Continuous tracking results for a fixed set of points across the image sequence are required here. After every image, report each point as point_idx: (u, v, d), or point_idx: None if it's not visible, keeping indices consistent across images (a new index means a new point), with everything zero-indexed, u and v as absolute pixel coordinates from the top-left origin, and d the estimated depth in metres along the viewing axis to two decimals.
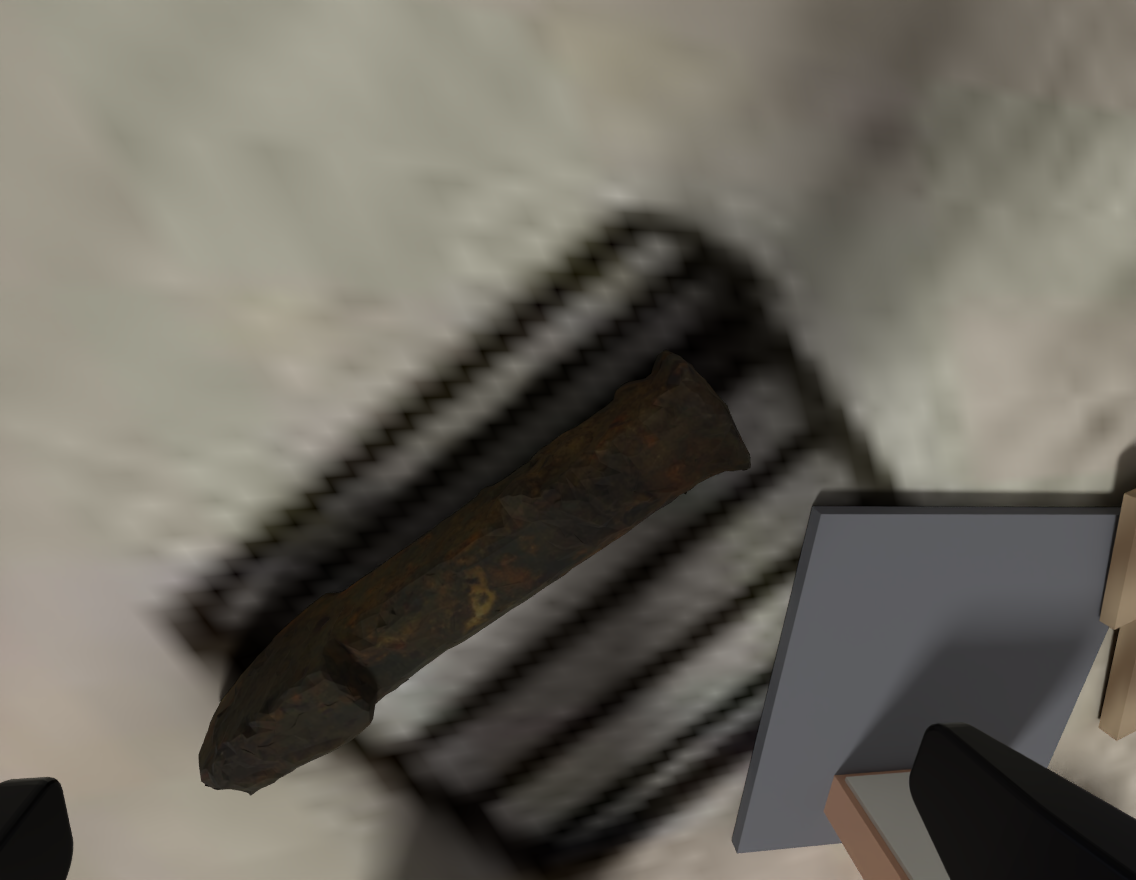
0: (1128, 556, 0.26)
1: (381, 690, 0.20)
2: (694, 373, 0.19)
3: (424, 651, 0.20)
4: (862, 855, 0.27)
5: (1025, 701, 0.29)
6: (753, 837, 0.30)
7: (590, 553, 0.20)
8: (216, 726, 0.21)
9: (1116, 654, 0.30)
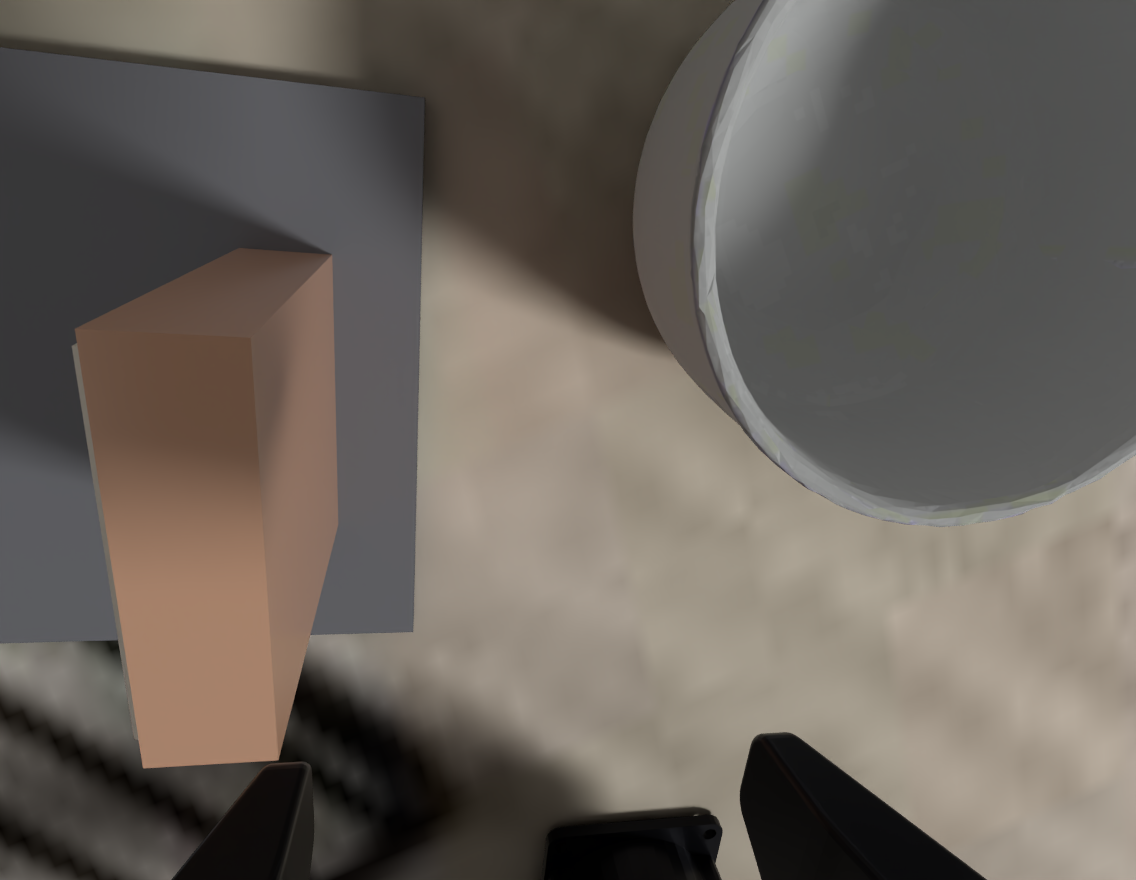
0: None
1: None
2: None
3: None
4: None
5: (68, 190, 0.15)
6: (382, 616, 0.20)
7: None
8: None
9: None
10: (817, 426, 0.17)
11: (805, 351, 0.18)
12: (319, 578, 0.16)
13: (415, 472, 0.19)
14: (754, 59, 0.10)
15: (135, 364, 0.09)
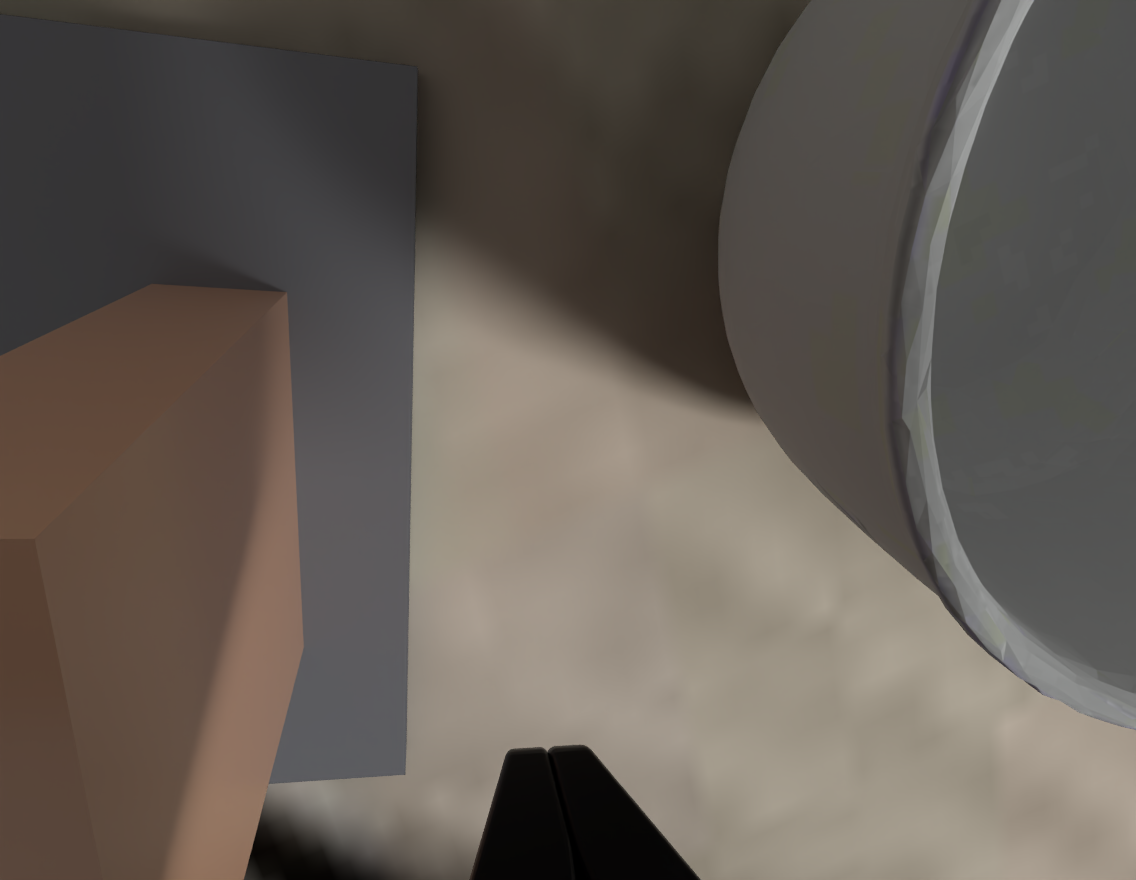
0: None
1: None
2: None
3: None
4: None
5: None
6: (365, 757, 0.15)
7: None
8: None
9: None
10: (972, 532, 0.12)
11: (934, 416, 0.14)
12: (266, 762, 0.11)
13: (407, 579, 0.14)
14: None
15: None
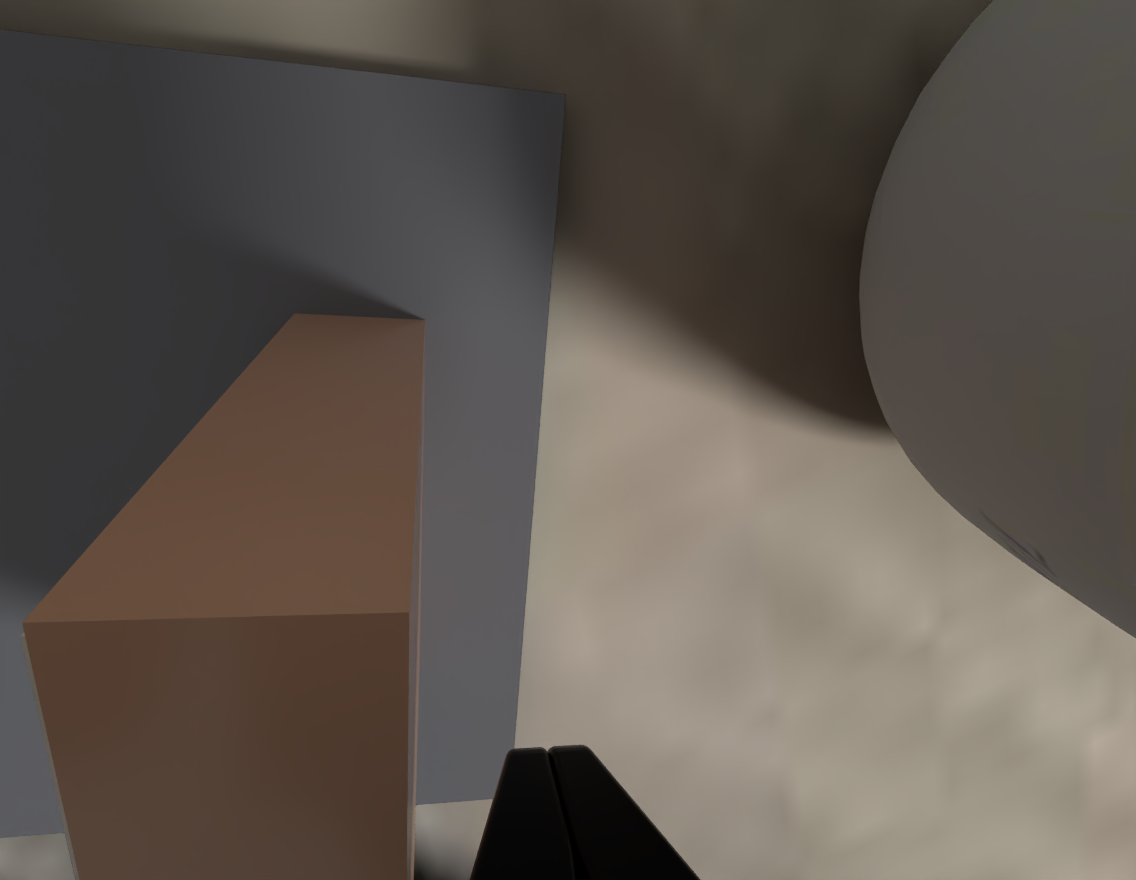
0: None
1: None
2: None
3: None
4: None
5: (46, 235, 0.10)
6: (472, 780, 0.15)
7: None
8: None
9: None
10: None
11: None
12: (415, 794, 0.11)
13: (524, 603, 0.14)
14: None
15: (159, 681, 0.04)
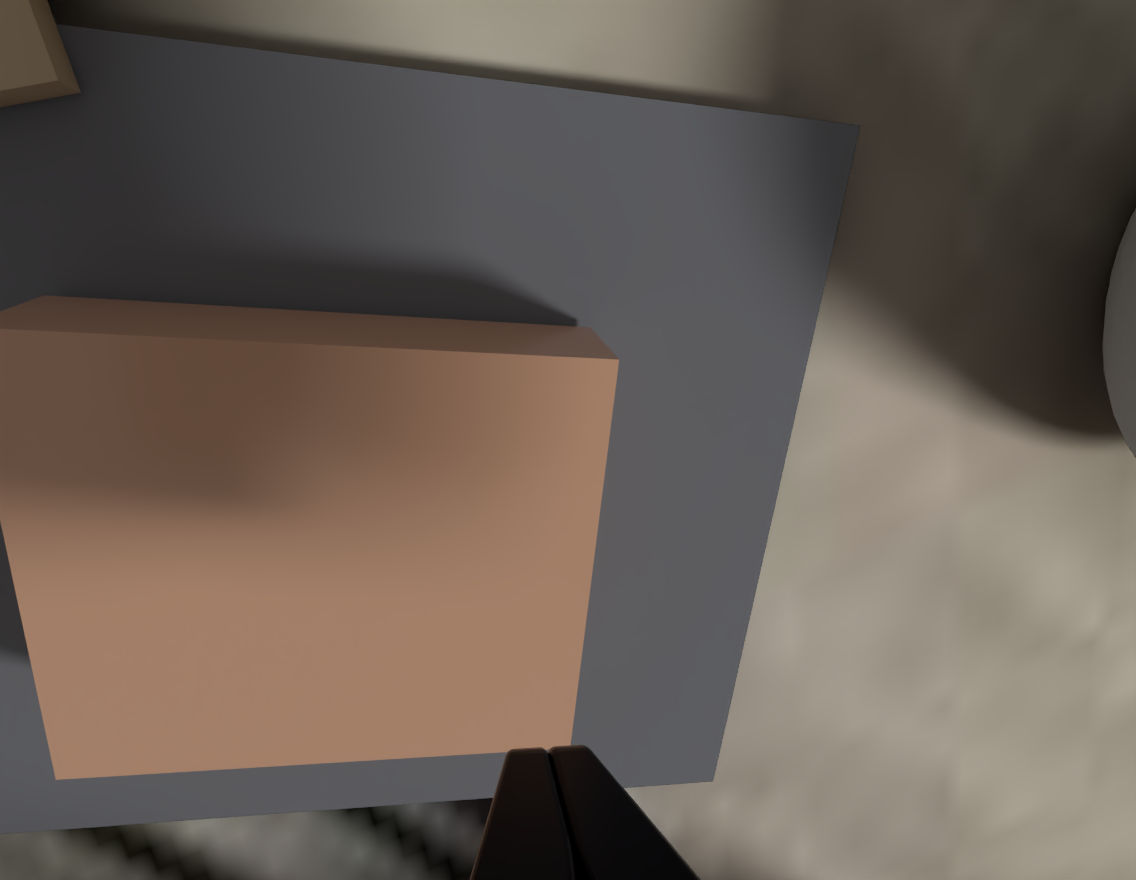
0: None
1: None
2: None
3: None
4: None
5: (394, 253, 0.11)
6: (682, 764, 0.16)
7: None
8: None
9: None
10: None
11: None
12: (372, 738, 0.12)
13: (753, 596, 0.15)
14: None
15: None
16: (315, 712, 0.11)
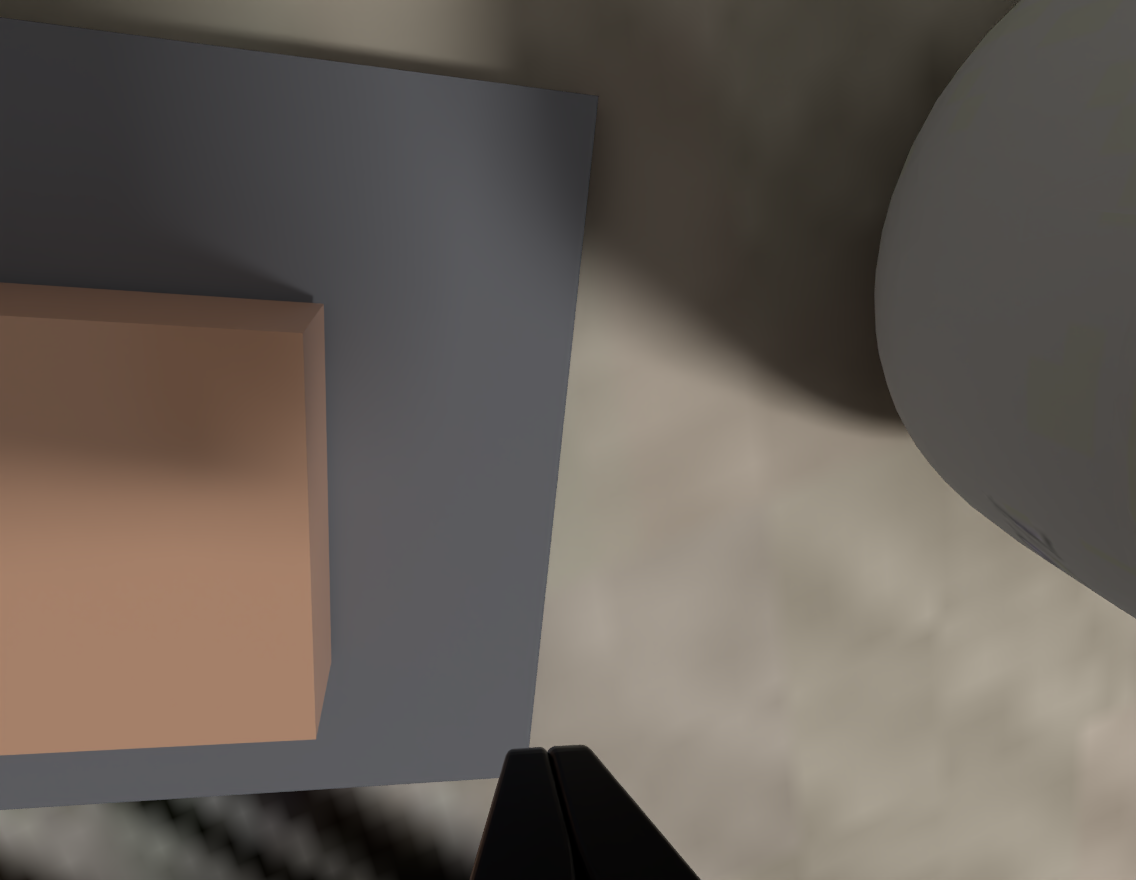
0: None
1: None
2: None
3: None
4: None
5: (101, 223, 0.11)
6: (489, 759, 0.16)
7: None
8: None
9: None
10: None
11: None
12: (92, 728, 0.11)
13: (544, 586, 0.14)
14: None
15: None
16: (23, 700, 0.11)
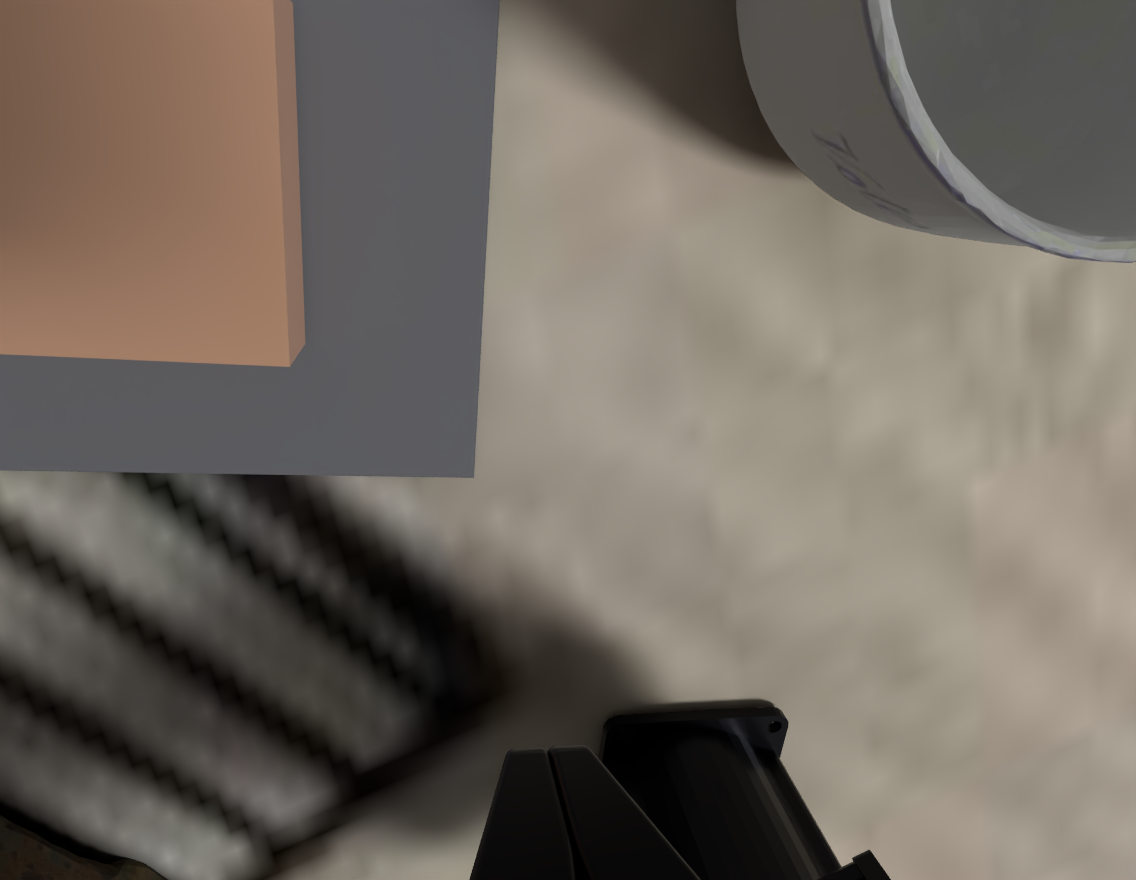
0: None
1: None
2: None
3: None
4: None
5: None
6: (442, 457, 0.19)
7: None
8: None
9: None
10: None
11: None
12: (111, 336, 0.14)
13: (482, 288, 0.17)
14: None
15: None
16: (57, 304, 0.14)
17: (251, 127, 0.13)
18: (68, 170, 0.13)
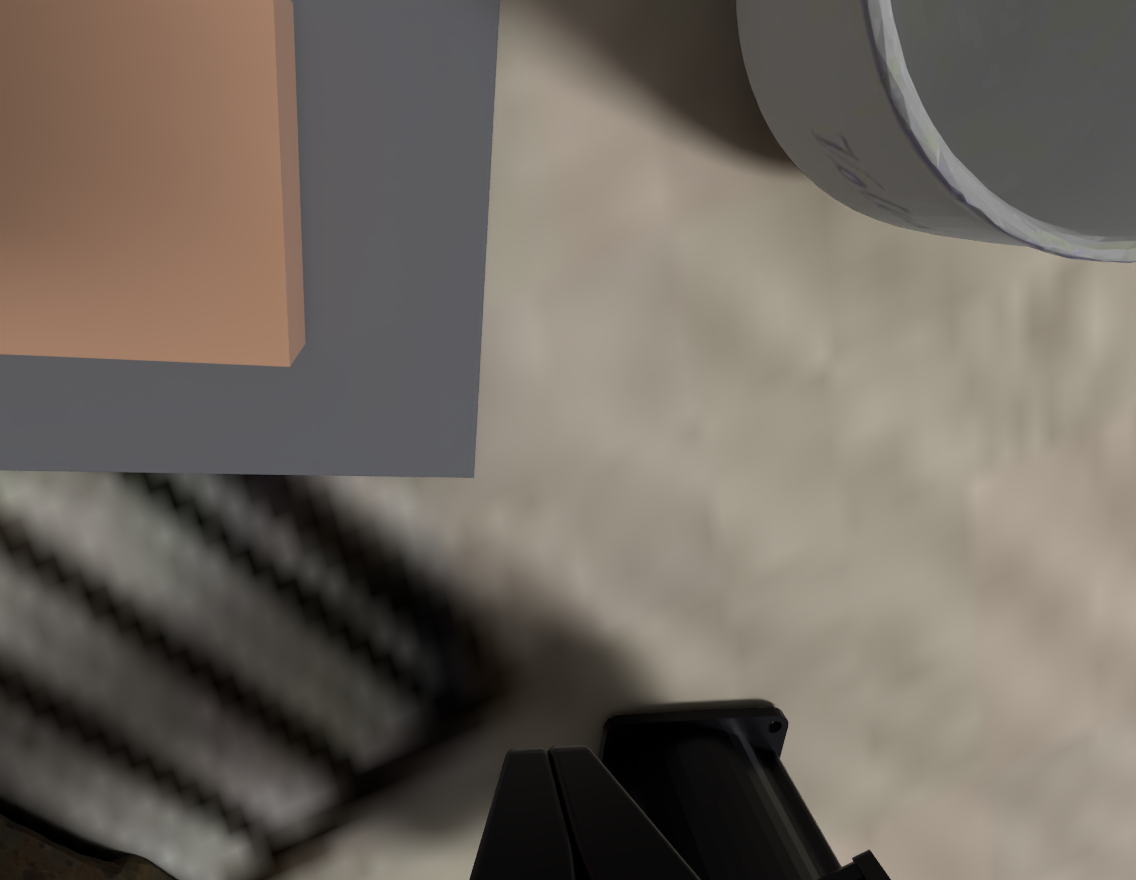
0: None
1: None
2: None
3: None
4: None
5: None
6: (442, 457, 0.19)
7: None
8: None
9: None
10: None
11: None
12: (111, 336, 0.14)
13: (482, 288, 0.17)
14: None
15: None
16: (57, 304, 0.14)
17: (251, 127, 0.13)
18: (68, 170, 0.13)
